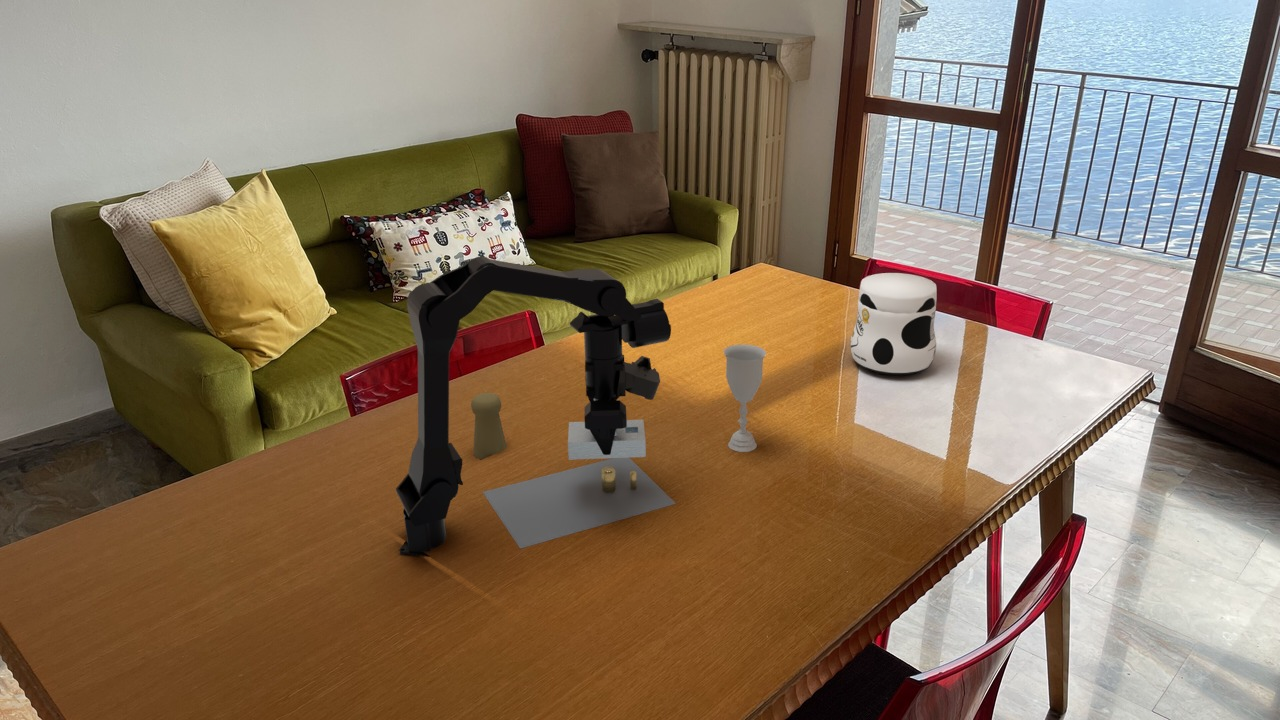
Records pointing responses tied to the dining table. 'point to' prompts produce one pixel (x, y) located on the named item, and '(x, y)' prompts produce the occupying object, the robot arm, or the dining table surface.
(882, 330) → the milk container
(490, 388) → the dining table surface
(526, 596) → the dining table surface
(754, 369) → the chalice
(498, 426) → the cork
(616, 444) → the silver rectangular block
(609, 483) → the pair of brass cylinders
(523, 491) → the mount board
